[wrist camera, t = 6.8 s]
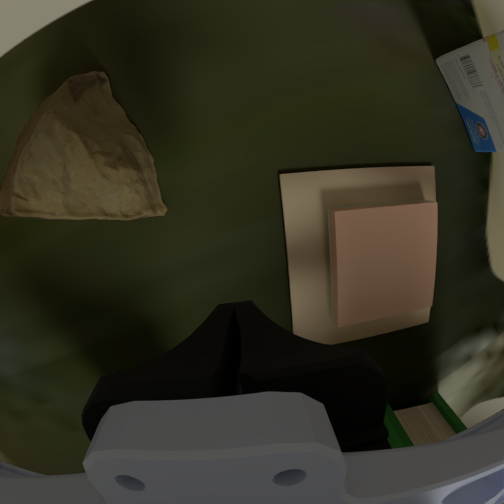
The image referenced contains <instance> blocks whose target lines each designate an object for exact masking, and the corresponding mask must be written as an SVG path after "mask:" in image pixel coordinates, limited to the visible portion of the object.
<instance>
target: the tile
mask: <svg viewBox="0 0 504 504" xmlns="http://www.w3.org/2000/svg"><path fill="white" fill-rule="evenodd" d="M327 217H328V232H329V251H330V274H331V317H332V319H333V320H334V322H335V323H336V325H337V326H338V327H342V326H347V325H352V324H357V323H362V322H367V321H372V320H376V319H381V318H385V317H390V316H394V315H399V314H403V313H407V312H411V311H415V310H419V309H423V308H427V307H431V306H432V302H433V293H434V282H435V270H436V253H437V202H434V201H430V200H413V201H401V202H389V203H377V204H366V205H356V206H345V207H335V208H327Z"/></svg>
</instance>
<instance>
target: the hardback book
mask: <svg viewBox="0 0 504 504" xmlns="http://www.w3.org/2000/svg"><path fill="white" fill-rule="evenodd" d="M384 424H385V426H386V428H387V430H388V432H389V436H388V438H387V440H388V442H389V444H390V446H391V448H392V449H395V448H403V447H410V446H417V445H424V444H430V443H435V442H441V441H443V440H445V439H448V438H450V437H452V436H454V435H456V434H458V433H460V432H462V431H464V430H466V429H467V428H466V426H465V425H464V424H463V423H462V421H461V420H460V419H459V418H458V416H457V415H456V414H455V413H454V411H453V410H452V409H451V408H450V406H449V405H448V404H447V403H446V402H445V400H444V399H443V398H442V397H441V396H440V394H439V393H434V394H431V397H430V399H429V401H428V404H424V405H420V406H415V407H411V408H407V409H402V410H397V411H393V410H392V408H391V407H390V405H389V404H388V403H387V409H386V413H385V418H384ZM502 504H504V503H502Z"/></svg>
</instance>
